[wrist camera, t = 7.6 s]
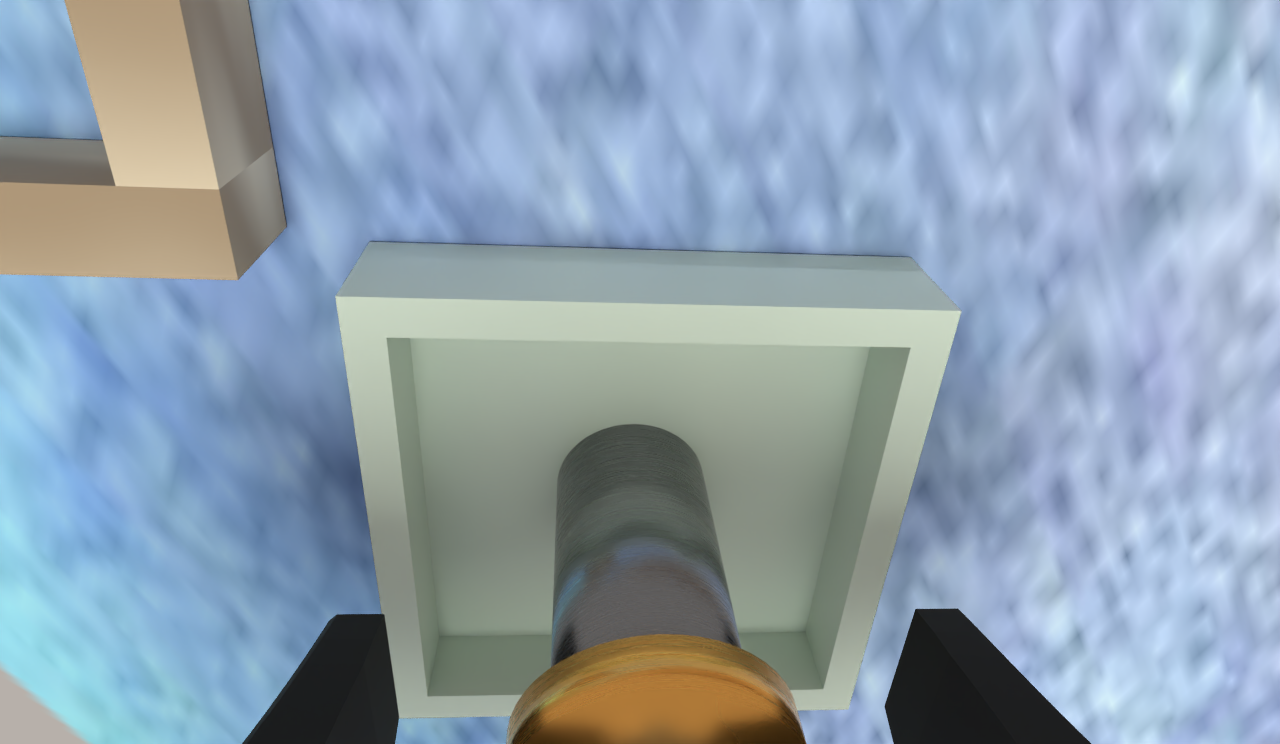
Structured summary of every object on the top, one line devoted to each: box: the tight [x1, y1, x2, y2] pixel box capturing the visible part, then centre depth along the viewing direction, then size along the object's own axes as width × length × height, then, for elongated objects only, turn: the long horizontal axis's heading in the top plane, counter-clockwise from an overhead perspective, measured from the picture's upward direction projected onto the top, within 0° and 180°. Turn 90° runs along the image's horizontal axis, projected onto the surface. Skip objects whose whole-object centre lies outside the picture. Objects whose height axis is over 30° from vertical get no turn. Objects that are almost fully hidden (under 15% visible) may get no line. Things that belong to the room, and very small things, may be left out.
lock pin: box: [506, 424, 806, 744], centre depth 12 cm, size 4×4×6 cm
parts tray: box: [335, 242, 961, 718], centre depth 14 cm, size 9×9×2 cm
